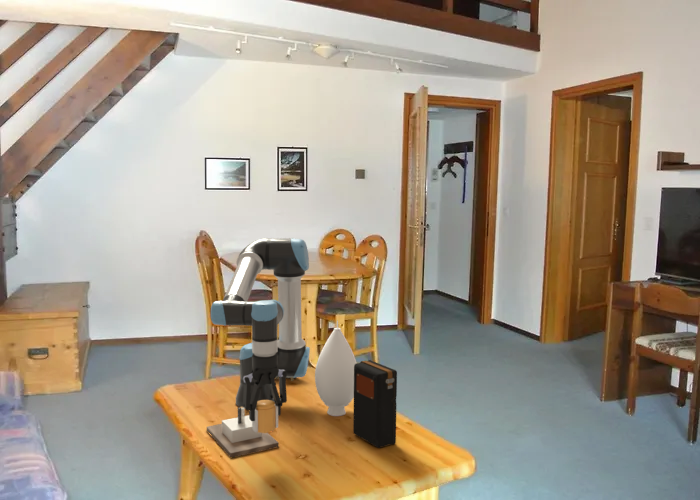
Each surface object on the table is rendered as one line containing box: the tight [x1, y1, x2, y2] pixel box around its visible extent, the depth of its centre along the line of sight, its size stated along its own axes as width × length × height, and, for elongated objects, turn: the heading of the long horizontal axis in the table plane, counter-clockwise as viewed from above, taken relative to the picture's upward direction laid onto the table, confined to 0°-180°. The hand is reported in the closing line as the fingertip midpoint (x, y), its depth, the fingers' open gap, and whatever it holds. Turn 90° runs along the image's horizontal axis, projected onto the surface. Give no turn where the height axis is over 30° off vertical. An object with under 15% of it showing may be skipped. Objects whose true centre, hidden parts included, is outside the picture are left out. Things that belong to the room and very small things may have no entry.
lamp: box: [314, 319, 358, 417], centre depth 219 cm, size 16×16×35 cm
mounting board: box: [206, 423, 280, 458], centre depth 196 cm, size 16×24×2 cm, turn 31°
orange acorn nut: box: [256, 400, 276, 434], centre depth 178 cm, size 6×6×8 cm
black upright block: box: [352, 359, 398, 449], centre depth 196 cm, size 16×9×25 cm, turn 35°
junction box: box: [221, 407, 261, 443], centre depth 196 cm, size 10×10×9 cm
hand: (265, 428), depth 179 cm, fingers closed on orange acorn nut, 6 cm apart
